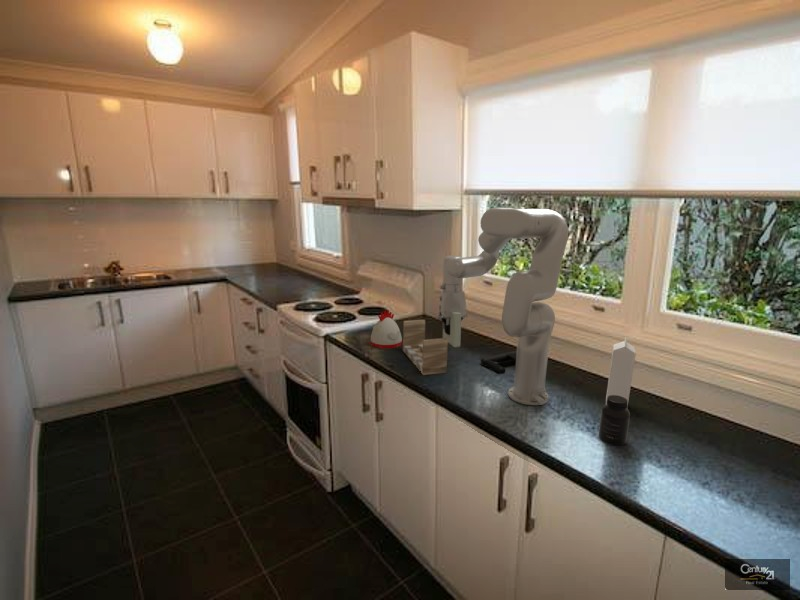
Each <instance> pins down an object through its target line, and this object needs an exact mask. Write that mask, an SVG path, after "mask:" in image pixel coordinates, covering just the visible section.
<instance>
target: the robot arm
mask: <svg viewBox="0 0 800 600" xmlns="http://www.w3.org/2000/svg"><path fill="white" fill-rule="evenodd" d="M479 225H480V228H481V231H482V232H481V233H480V234H479V235H478V237H477V238H478V239H477V240H478V241H477V242H478V245H479V246H480V248H481V249H482V250H483V251H481V252H480V254H479V255H477V256H476V255H475V256H474V255H473V256H465V257H464V256H463V257H462V256H461V255H446V256H444V258H443V261H442V263H443V266H442V270H443V271H442V284H441V285H439V289H440V290H441V291H440V296H439V302H438V313H437V315H436V317H435V318H436V319H437V320H439V321H441V322H442V324H443V323H444V324H445V333H446V334H447V335H450V325H449V318H452V312H459V313H461V322H462V321H463V320H464V319H466V318H467V317H468V314H467V302H466V301H467V299H466V293H465V291H464V290H463V281H464V280H463V279H468V278H475V277H482V276H483V275H486V274H487V273H488V272H489V271H490V270H492V269H493V267H494V266H495V265H497V264H498V260H499V257H500V250H502V248H504V247H505V246H506V244H508V242H510V241H511V240H512V239H536V238H539V242H538V243H537V245H536V246H535V248H534V250H533V253H532V257H531V262H530V266H529V269H528V270H521V271H518V272H516V273H513V274H512V276H511V277H510V279H509V280H508V282H507V285H506V289H505V294H504V301H503V307H502V313H501V324H502V325H501V326H502V329H503V331H504V333H506V335H508V336H510V337H512V338H518V341H517V344H516V345H517V346H516V351H517V354H516V365H514V366H515V369H514V379H513V386H512V387H510V388H509V389H508V392H507V394H508V397H510V399H511V400H512V401H514V402H517V403H519V404H521V405H522V404H523V405H527V406H540V405H541V406H542V405H545V404H546V403H547V402H548V401H549V400H550V398H549V394H548V392H546V390H547V389H546V388H545V387H546V377H547V368H548V367H547V366H548V358H549V357H548V356H549V349H550V340H551V337H552V333H553V330H554V327H555V322H556V314H555V312H554V309H553V308H552V307H551V305H549V304H547V303H546V302H543V301H544V300H548V299H551V298H552V297H553V296H554V295H555V294H556V291H557V288H558V283H559V278H560V274H561V273H560V272H561V267H562V263H563V257H564V253H565V251H566V250H565V249H566V246H567V244H568V238H569V227H568V224H567V221H566V220H565V218H564V216H563V215H562V214H561V213H559V212H557V211H555V210H552V209H548V208H514V207H491V208H489V209H486V210H485V211H484V213H483V214H482V216H481V219H480V224H479ZM541 301H542V302H541ZM443 317H444V318H443Z"/></svg>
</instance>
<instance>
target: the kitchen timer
mask: <svg viewBox="0 0 800 600" xmlns="http://www.w3.org/2000/svg"><path fill="white" fill-rule="evenodd" d="M377 316H378V319H379V320H378V321H377V322H376V324H375V325H374V326H373V328H372V332H371V335H370V345H371V344H372V345H373V346H372V345H371V346H372V347H374V346H376V347H375V348H377V347H379V348H378V349H387V348H388V349H395V347H396V348H398V346H399V347H400V346H401V345H403V339H402V338H403V336H402V333H401V331H400V330H401V329H400V328H399V325H398V324H397V322H396V321H395V320H394V316H395V314H394V313H392V311H390V310H388V309H387V310H384V311H380V315H379V314H378V315H377Z"/></svg>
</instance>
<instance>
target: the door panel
mask: <svg viewBox="0 0 800 600" xmlns="http://www.w3.org/2000/svg"><path fill="white" fill-rule="evenodd" d="M442 318H444V317H442ZM449 325H450V335H447V334H446V333H445V324H444V323H443V322H442V338H447V339H448V345H451V346H452V347H454V348H460V347H461V339H462V338H461V336H462V335H461V333H462V321H461V313H459V312H452V318H449Z"/></svg>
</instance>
